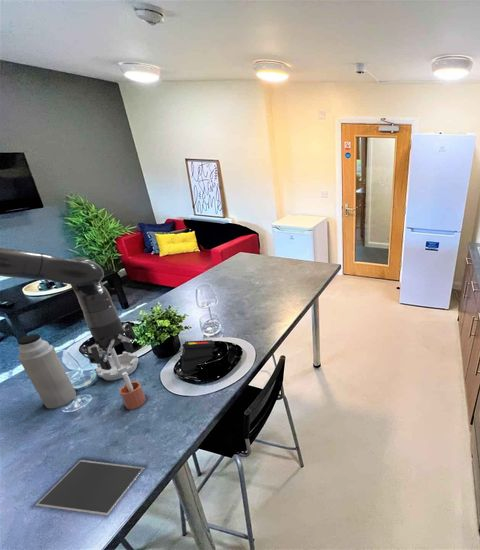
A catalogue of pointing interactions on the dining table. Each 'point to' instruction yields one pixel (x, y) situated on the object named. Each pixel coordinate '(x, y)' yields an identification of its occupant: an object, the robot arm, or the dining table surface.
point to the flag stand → (118, 365)
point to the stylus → (127, 381)
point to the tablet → (91, 487)
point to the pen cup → (133, 396)
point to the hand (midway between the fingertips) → (119, 360)
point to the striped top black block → (195, 355)
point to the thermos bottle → (45, 371)
